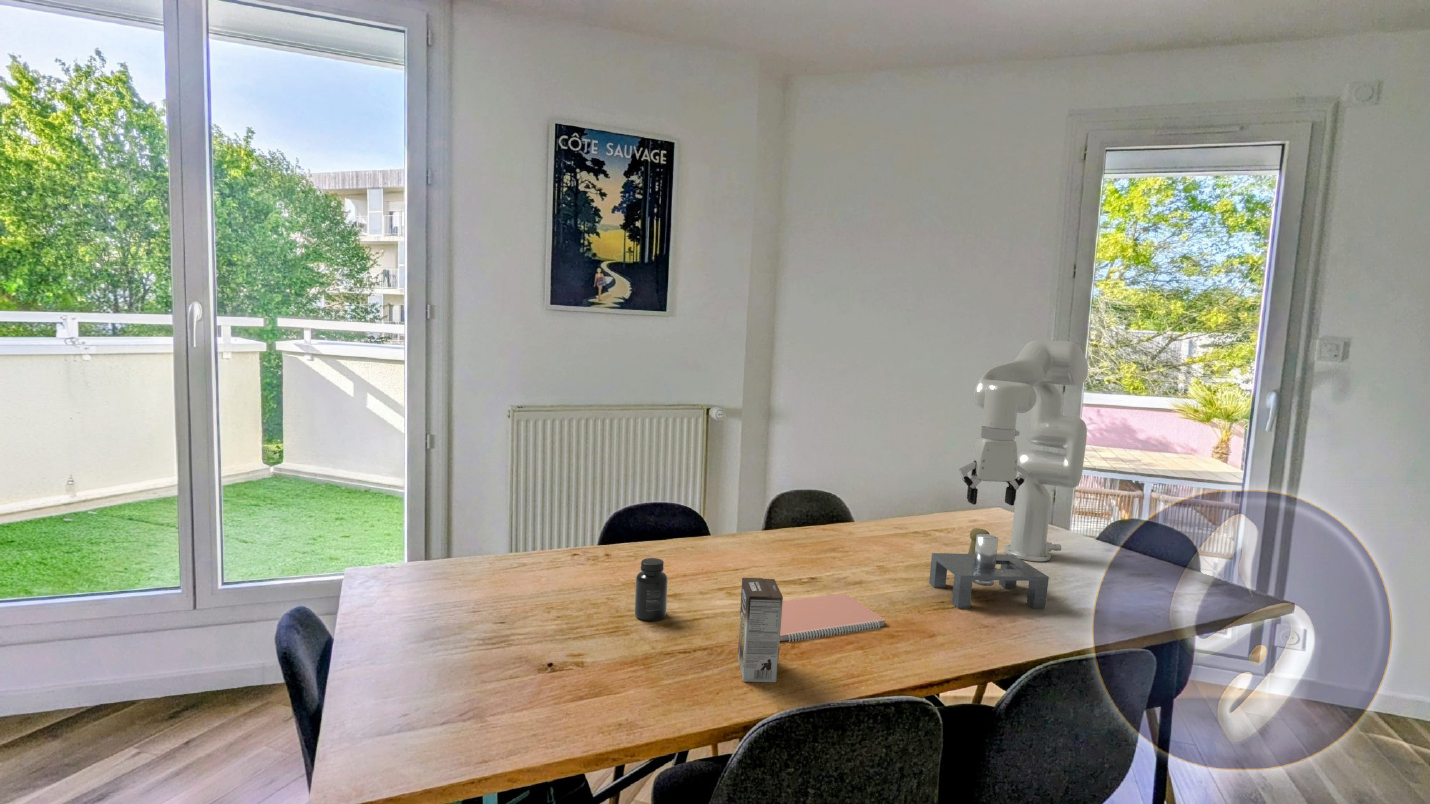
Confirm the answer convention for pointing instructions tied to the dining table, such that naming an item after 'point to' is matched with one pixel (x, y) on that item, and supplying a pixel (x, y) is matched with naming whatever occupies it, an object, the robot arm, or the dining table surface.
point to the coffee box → (759, 629)
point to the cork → (973, 538)
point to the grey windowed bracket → (987, 577)
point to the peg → (985, 554)
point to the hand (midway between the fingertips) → (990, 503)
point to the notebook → (825, 617)
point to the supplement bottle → (651, 590)
